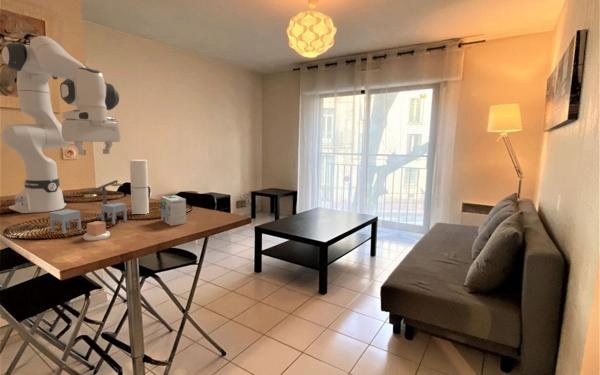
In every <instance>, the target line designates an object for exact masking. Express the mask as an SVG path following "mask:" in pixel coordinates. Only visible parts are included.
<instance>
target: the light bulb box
mask: <svg viewBox="0 0 600 375" xmlns="http://www.w3.org/2000/svg"><path fill="white" fill-rule="evenodd" d="M160 202H161V203H160V204H161V205H160V206H161V208H160V209H161V211H160V212H161V218H160V220H161V221H162V222H164V223H166V224H167V225H169V226H179V225H184V224H187V199H186V198H184V197H181V196H178V195H176V194H173V195H164V196H160Z"/></svg>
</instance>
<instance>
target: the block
mask: <svg viewBox="0 0 600 375" xmlns="http://www.w3.org/2000/svg"><path fill="white" fill-rule="evenodd" d="M106 226H107V223H106V221H105V222H101V220H100V221H99V220H97V221H96V220H95V221H93V222H89V223H86V231H87V232H86V233H87V235H92V236H98V235H101V234H105V233H106V231H107V227H106Z"/></svg>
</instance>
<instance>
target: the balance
mask: <svg viewBox="0 0 600 375" xmlns="http://www.w3.org/2000/svg"><path fill="white" fill-rule="evenodd" d="M109 186H111V187H121V186H123V183H119V181H118V180H117V179H116V180H113V181H111V182H108V183H105V184H103V185H100V186H98V187H95V188H93V189H91V190H89V194H84V195H83V198H96V197H98V194H97V193H95V192H98V191H99V190H102V192H101V193H102V205H103V204H108V201H107V200H108V199H107V198H108V197H107V187H109ZM95 219H96V220H100V219H101V215H98V216H96V217H95ZM104 219H105V221H106V220H108V221H112V215H109V213H108V212H104Z"/></svg>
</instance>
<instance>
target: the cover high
mask: <svg viewBox="0 0 600 375" xmlns="http://www.w3.org/2000/svg"><path fill="white" fill-rule="evenodd" d="M104 212H107V214H111V216H112V219H111V225H112V224H114V225H116V220H117V213H120V212H122V214H123V222H127V221H128V217H127V203H123V202H116V201H113V202H107V204H103V203H102V204H100V216H101V220H100V222H106V220H105V219H104Z"/></svg>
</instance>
